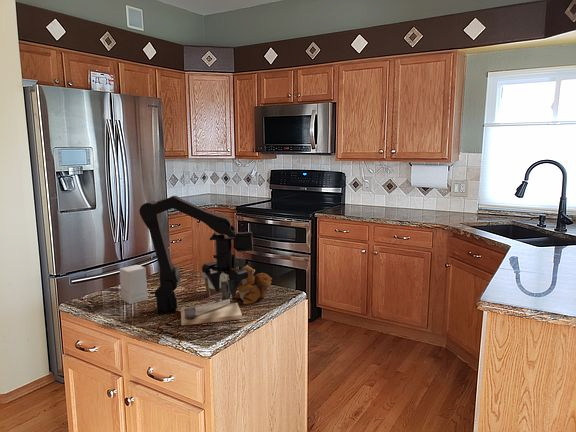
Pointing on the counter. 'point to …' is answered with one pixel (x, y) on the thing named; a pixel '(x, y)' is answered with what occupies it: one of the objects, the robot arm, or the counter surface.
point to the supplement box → (133, 284)
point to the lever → (225, 300)
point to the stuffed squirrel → (253, 286)
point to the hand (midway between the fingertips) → (225, 294)
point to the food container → (209, 287)
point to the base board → (214, 315)
